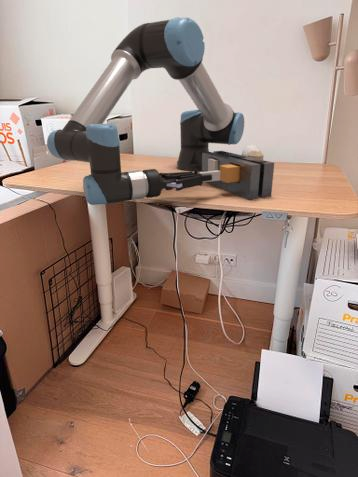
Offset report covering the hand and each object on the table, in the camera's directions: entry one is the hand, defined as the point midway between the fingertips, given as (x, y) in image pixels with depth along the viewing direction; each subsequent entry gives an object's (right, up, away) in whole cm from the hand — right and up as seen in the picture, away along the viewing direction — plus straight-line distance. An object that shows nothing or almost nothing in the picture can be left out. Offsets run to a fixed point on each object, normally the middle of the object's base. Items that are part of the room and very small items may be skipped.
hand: (218, 175), depth 99 cm
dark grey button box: (+6, -2, +11) cm, 13 cm away
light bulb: (+16, +7, +33) cm, 37 cm away
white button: (+1, +3, +14) cm, 14 cm away
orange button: (+3, -1, +2) cm, 4 cm away
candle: (+16, +3, +24) cm, 28 cm away
